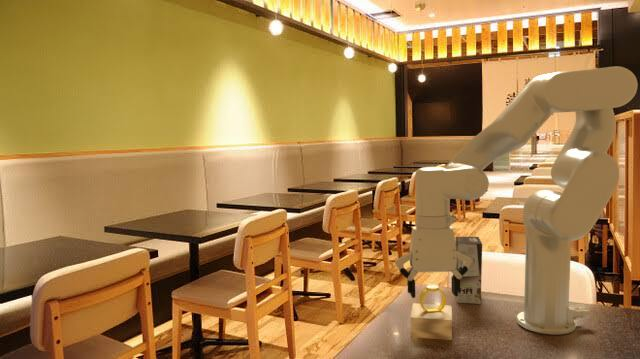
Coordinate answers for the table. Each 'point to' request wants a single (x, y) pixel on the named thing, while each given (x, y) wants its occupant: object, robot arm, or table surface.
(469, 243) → the coffee box
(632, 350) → the table surface
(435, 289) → the watch
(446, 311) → the wood block
